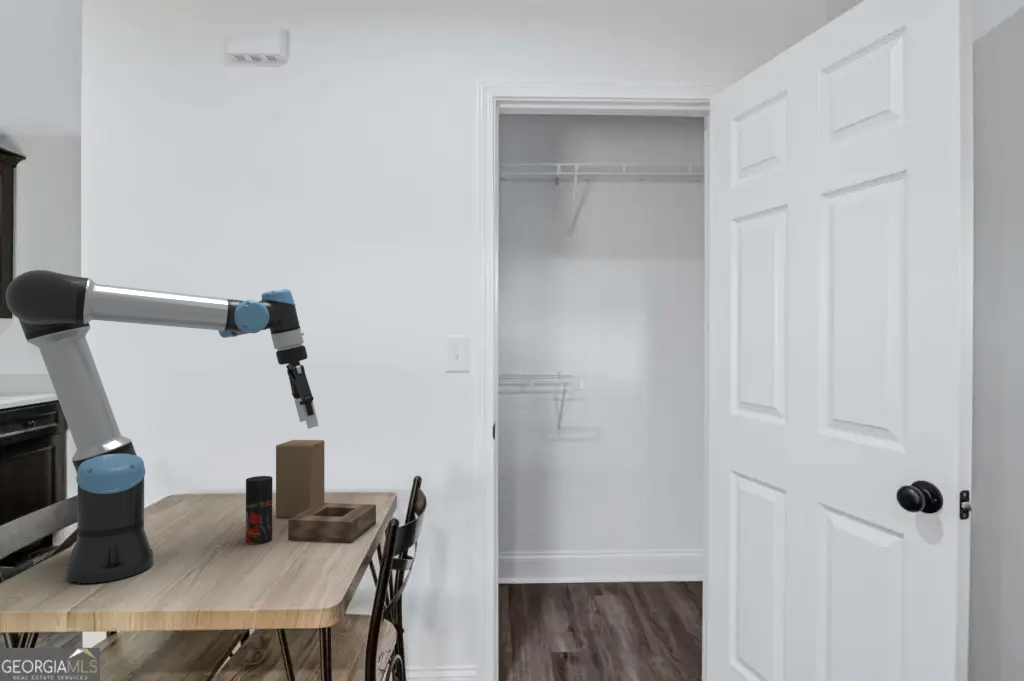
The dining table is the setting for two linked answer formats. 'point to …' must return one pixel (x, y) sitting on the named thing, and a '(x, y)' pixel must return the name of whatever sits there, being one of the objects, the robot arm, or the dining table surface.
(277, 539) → the dining table surface
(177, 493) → the dining table surface
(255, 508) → the deodorant
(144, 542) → the robot arm
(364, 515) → the socket block
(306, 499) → the wooden block
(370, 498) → the dining table surface
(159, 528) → the dining table surface
